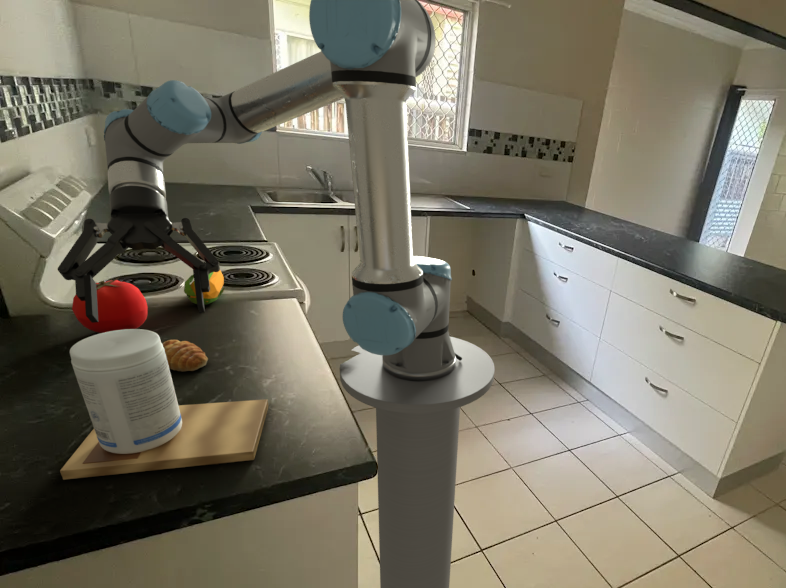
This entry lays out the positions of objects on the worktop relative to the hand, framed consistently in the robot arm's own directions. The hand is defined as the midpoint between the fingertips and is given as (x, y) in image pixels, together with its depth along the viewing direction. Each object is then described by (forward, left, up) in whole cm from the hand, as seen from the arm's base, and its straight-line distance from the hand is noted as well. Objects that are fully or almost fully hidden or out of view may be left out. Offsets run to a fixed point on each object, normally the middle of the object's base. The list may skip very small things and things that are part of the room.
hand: (149, 314), depth 73 cm
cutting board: (-5, +12, -15) cm, 20 cm away
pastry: (+1, -13, -15) cm, 20 cm away
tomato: (+17, -29, -15) cm, 37 cm away
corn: (+5, -50, -15) cm, 52 cm away
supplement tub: (-1, +13, -14) cm, 19 cm away
